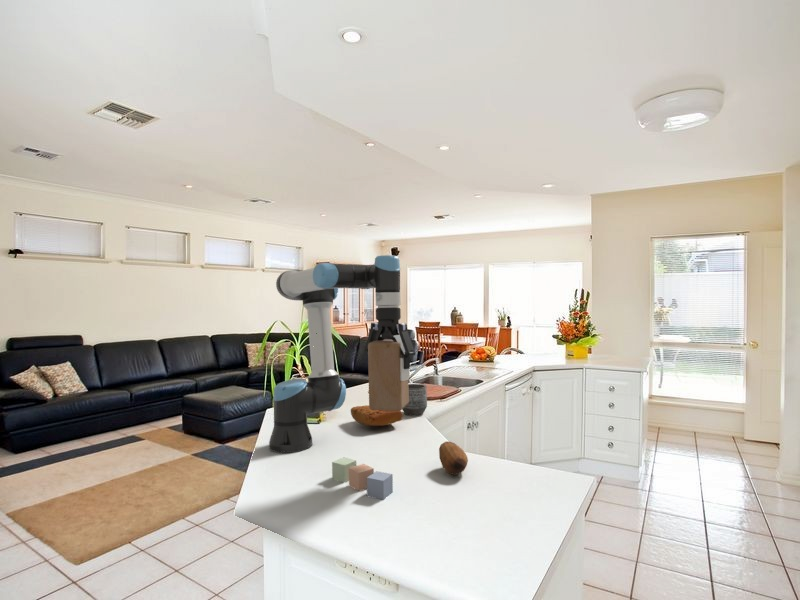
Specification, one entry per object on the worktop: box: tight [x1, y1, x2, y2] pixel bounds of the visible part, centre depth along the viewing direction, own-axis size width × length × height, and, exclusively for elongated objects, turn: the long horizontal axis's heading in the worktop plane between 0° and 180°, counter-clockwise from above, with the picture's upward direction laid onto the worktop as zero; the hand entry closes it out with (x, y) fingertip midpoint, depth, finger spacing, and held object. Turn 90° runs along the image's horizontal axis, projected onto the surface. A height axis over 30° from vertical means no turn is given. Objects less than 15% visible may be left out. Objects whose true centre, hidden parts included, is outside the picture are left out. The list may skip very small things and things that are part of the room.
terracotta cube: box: [348, 463, 375, 492], centre depth 125 cm, size 5×5×5 cm
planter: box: [401, 383, 428, 417], centre depth 205 cm, size 12×12×13 cm
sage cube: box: [331, 456, 357, 483], centre depth 130 cm, size 5×5×5 cm
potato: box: [438, 441, 469, 476], centre depth 134 cm, size 8×14×8 cm
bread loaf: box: [350, 404, 404, 427], centre depth 187 cm, size 22×17×8 cm
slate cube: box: [366, 470, 394, 501], centre depth 119 cm, size 5×5×5 cm
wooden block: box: [367, 339, 409, 411], centre depth 134 cm, size 10×10×20 cm
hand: (389, 377), depth 134 cm, fingers closed on wooden block, 13 cm apart
